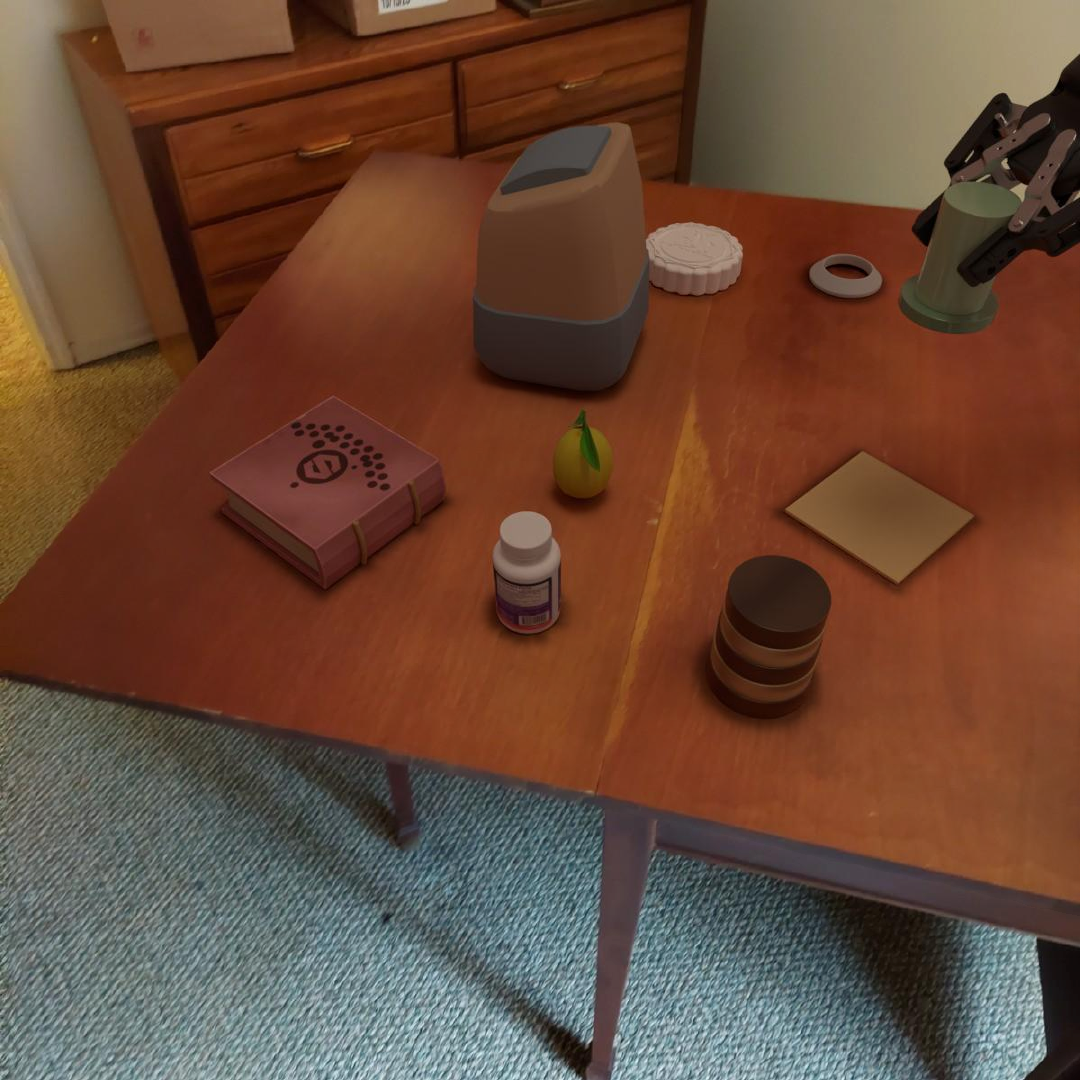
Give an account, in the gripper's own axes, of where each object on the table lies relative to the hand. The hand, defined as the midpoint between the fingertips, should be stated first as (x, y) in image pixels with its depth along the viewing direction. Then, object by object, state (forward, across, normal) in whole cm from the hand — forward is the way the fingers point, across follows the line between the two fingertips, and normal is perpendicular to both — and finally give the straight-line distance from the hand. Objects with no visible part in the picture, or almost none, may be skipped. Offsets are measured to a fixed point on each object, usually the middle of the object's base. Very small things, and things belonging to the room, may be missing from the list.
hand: (941, 257), depth 67 cm
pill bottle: (+41, +1, -3) cm, 41 cm away
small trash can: (+31, -33, +7) cm, 46 cm away
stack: (+30, +12, +8) cm, 33 cm away
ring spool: (+2, 0, +4) cm, 5 cm away
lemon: (+35, -11, +3) cm, 36 cm away
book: (+50, -16, -12) cm, 54 cm away
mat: (+17, 0, +21) cm, 27 cm away
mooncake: (+17, -45, +21) cm, 52 cm away
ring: (+5, -37, +33) cm, 50 cm away
